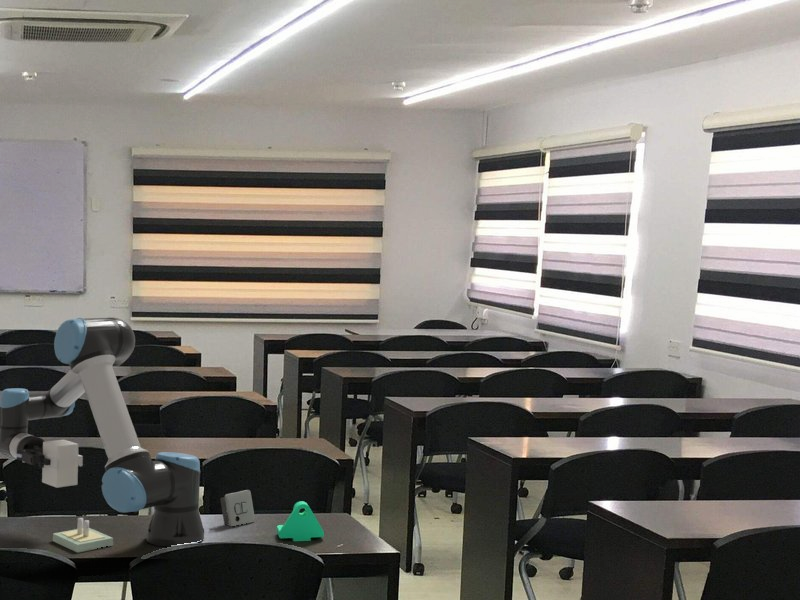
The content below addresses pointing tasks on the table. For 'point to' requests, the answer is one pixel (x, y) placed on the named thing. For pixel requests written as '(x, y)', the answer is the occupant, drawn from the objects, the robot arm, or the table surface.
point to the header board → (82, 538)
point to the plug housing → (61, 463)
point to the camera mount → (300, 524)
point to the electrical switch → (237, 508)
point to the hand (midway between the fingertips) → (69, 462)
